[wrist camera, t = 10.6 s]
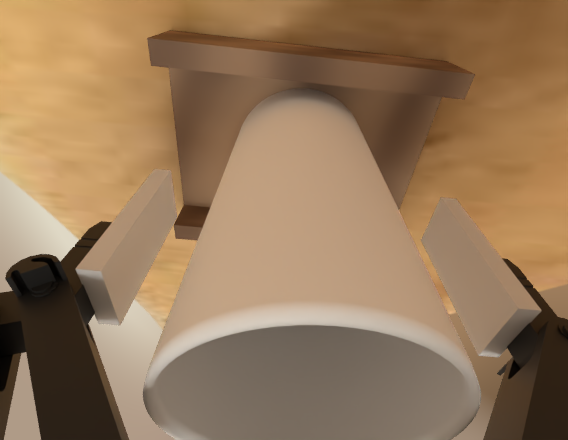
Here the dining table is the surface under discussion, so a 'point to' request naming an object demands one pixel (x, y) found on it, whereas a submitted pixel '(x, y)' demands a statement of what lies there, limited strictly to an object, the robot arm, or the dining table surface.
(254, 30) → the dining table surface
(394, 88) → the brown wooden tray
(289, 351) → the cup
